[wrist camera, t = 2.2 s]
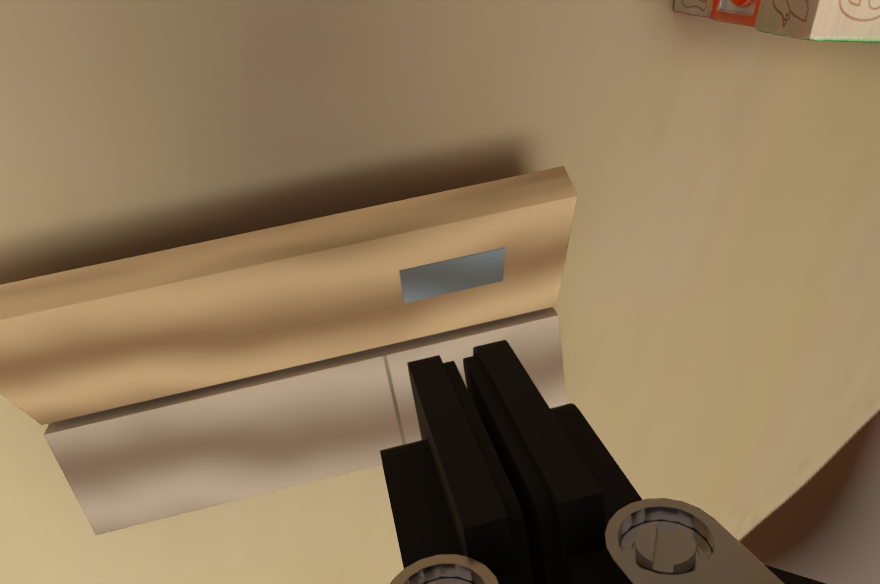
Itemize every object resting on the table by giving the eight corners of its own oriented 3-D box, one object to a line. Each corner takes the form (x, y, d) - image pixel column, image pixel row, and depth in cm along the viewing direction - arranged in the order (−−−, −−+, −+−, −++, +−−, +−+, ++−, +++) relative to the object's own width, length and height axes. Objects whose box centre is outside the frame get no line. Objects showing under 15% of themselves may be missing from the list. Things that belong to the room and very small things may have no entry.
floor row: (48, 401, 33) (37, 422, 31) (546, 288, 35) (557, 302, 33) (103, 512, 36) (95, 535, 34) (557, 400, 38) (567, 418, 37)
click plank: (-69, 299, 26) (-76, 337, 25) (563, 166, 28) (577, 197, 27) (44, 393, 32) (41, 425, 31) (545, 279, 35) (556, 307, 34)
